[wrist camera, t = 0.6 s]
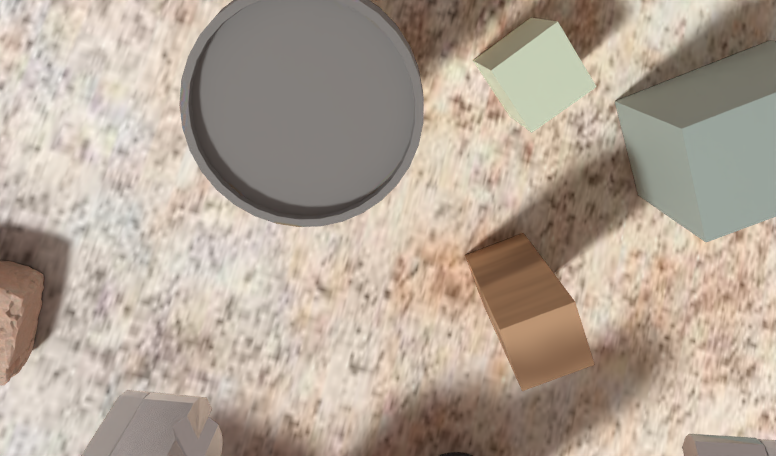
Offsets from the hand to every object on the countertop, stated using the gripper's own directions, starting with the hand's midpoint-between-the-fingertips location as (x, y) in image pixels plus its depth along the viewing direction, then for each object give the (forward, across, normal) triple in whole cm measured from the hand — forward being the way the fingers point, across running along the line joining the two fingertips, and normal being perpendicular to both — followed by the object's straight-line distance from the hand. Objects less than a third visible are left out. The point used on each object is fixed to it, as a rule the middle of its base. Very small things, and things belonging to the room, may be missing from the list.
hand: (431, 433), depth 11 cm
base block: (+40, -15, +15) cm, 46 cm away
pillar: (+34, -1, +25) cm, 42 cm away
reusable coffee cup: (+35, +13, +8) cm, 38 cm away
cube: (+38, -2, +9) cm, 39 cm away
